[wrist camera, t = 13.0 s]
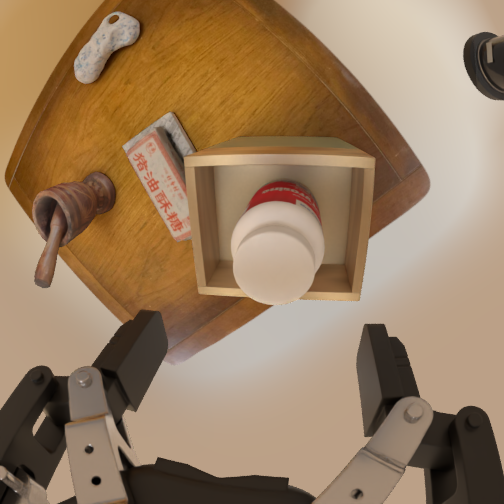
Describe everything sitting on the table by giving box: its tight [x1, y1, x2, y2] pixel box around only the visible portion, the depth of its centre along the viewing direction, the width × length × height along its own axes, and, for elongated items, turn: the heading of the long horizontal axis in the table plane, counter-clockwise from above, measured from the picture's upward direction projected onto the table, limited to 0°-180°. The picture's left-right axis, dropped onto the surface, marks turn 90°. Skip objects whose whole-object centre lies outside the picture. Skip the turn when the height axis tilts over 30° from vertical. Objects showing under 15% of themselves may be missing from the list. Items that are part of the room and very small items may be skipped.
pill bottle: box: [231, 179, 325, 305], centre depth 22 cm, size 6×6×11 cm
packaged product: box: [122, 112, 196, 242], centre depth 42 cm, size 18×5×10 cm
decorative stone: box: [74, 12, 140, 84], centre depth 34 cm, size 13×7×5 cm, turn 138°
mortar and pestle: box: [32, 172, 115, 288], centre depth 39 cm, size 12×9×20 cm
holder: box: [184, 146, 375, 301], centre depth 25 cm, size 14×12×6 cm
